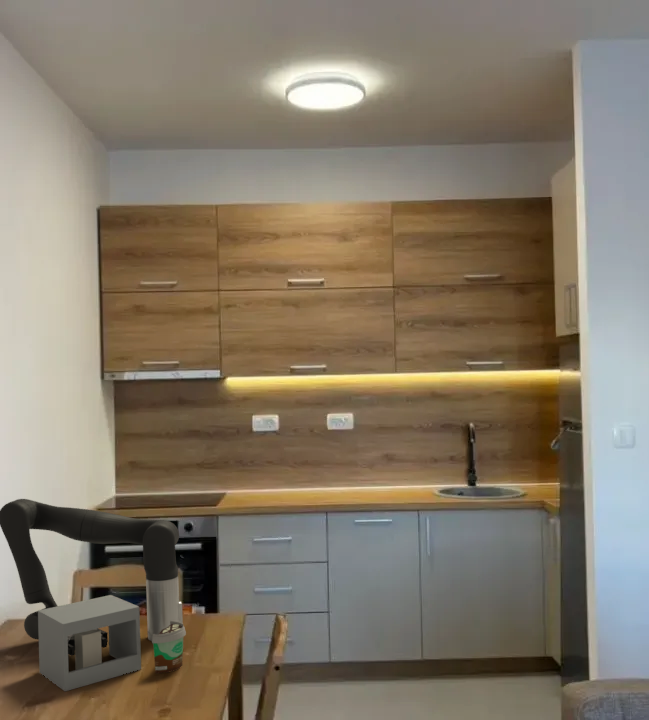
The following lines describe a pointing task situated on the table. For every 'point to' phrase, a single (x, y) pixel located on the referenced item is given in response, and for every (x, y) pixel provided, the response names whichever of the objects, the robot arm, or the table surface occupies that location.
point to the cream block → (88, 649)
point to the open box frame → (88, 617)
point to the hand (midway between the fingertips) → (89, 647)
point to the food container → (169, 647)
